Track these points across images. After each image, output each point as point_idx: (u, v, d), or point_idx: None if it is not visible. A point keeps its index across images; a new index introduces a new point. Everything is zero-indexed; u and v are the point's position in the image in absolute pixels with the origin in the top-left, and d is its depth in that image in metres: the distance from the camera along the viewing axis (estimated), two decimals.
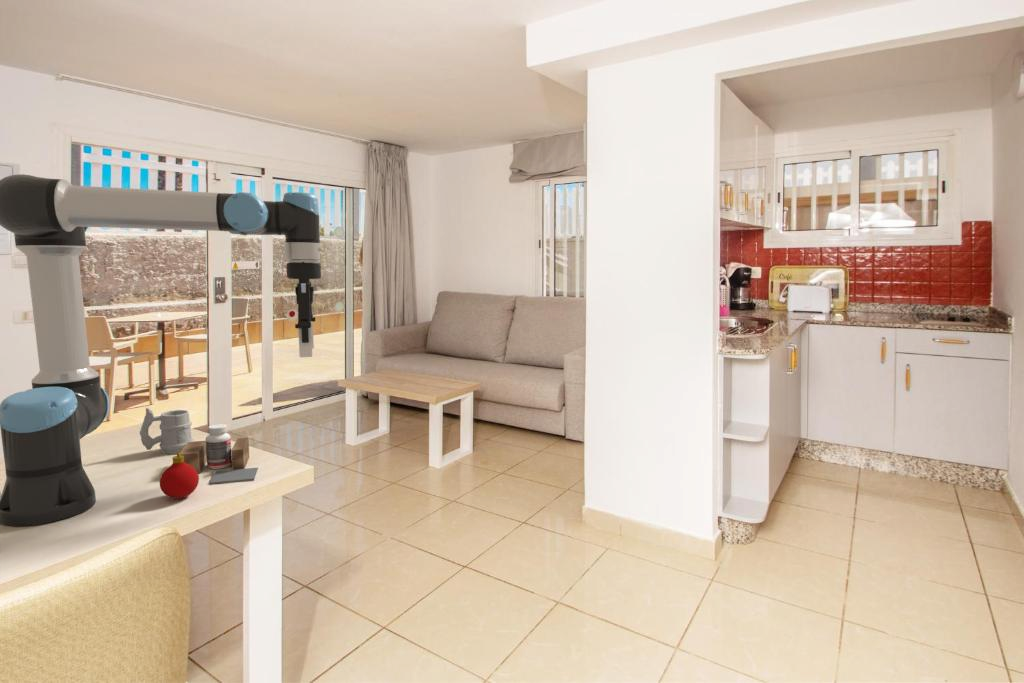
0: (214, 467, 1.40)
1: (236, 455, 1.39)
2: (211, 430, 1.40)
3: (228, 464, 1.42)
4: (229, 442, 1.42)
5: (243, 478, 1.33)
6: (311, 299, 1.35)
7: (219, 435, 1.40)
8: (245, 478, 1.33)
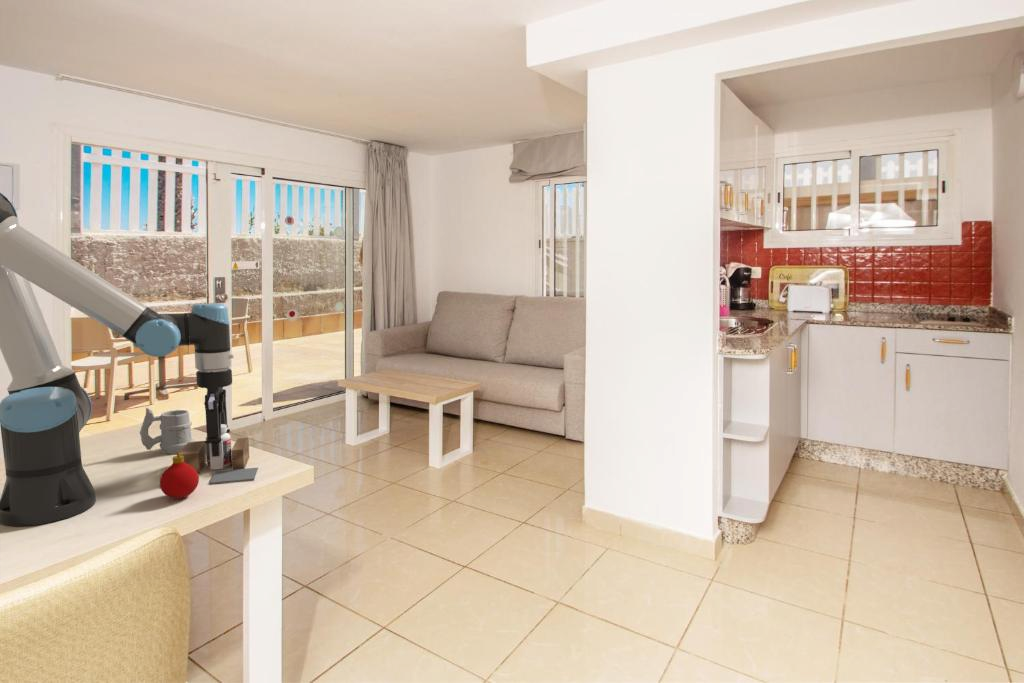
0: None
1: (236, 455, 1.39)
2: None
3: (228, 464, 1.42)
4: (229, 442, 1.42)
5: (243, 478, 1.33)
6: (221, 410, 1.39)
7: None
8: (245, 478, 1.33)
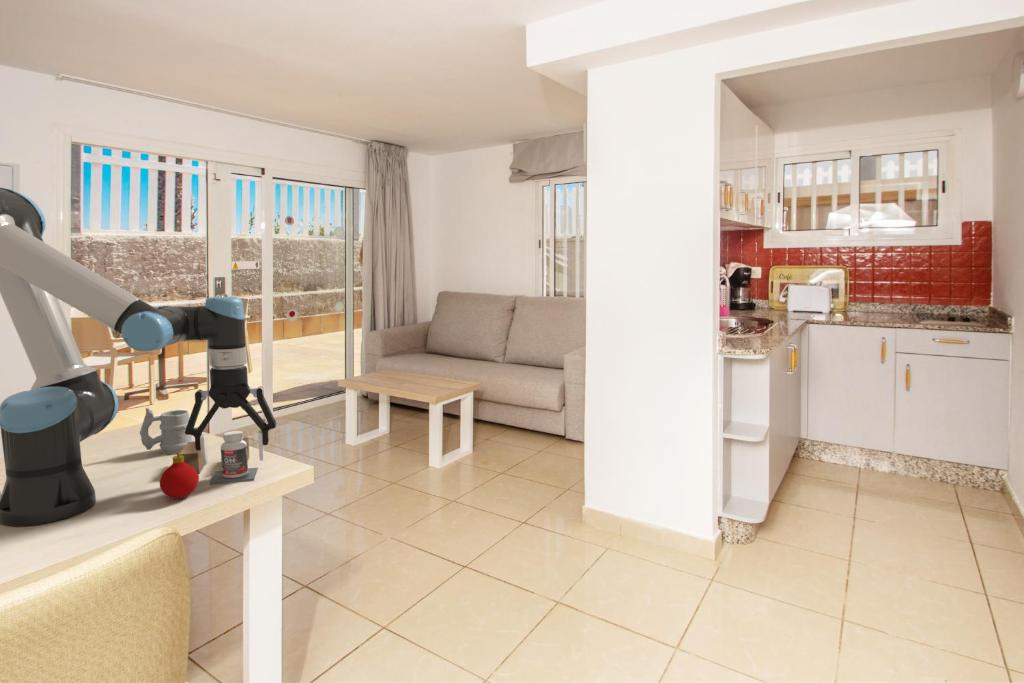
0: None
1: None
2: None
3: (226, 476, 1.33)
4: (228, 454, 1.32)
5: (243, 478, 1.33)
6: None
7: (224, 442, 1.33)
8: (245, 478, 1.33)
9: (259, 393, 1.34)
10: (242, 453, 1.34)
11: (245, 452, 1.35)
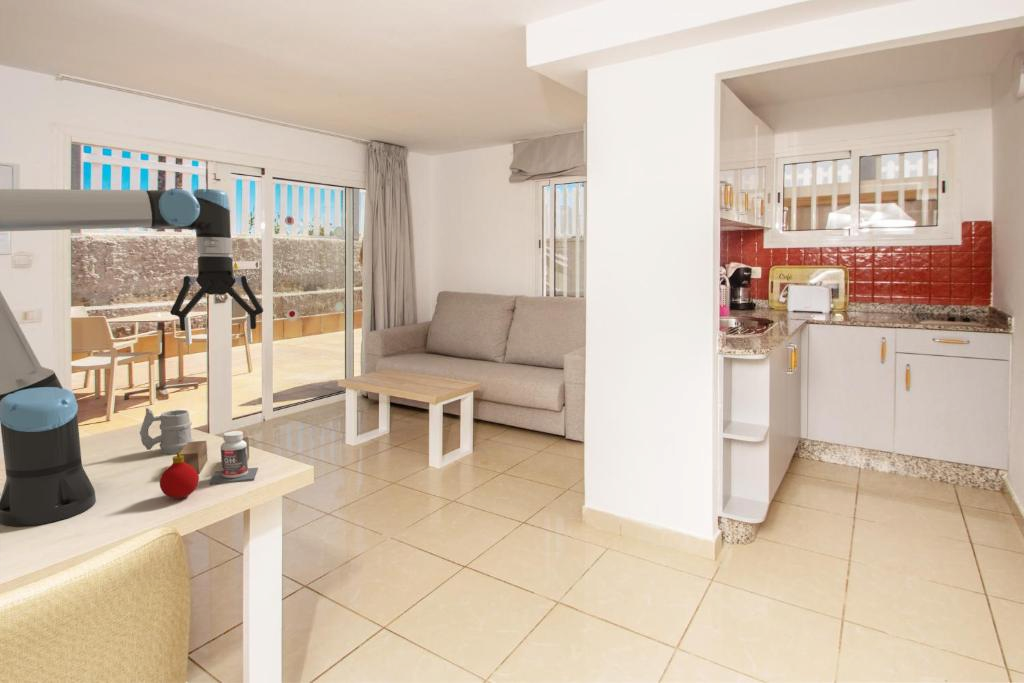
0: None
1: None
2: None
3: (226, 476, 1.33)
4: (228, 454, 1.32)
5: (243, 478, 1.33)
6: (198, 291, 1.41)
7: (224, 442, 1.33)
8: (245, 478, 1.33)
9: (243, 280, 1.44)
10: (242, 453, 1.34)
11: (245, 452, 1.35)
